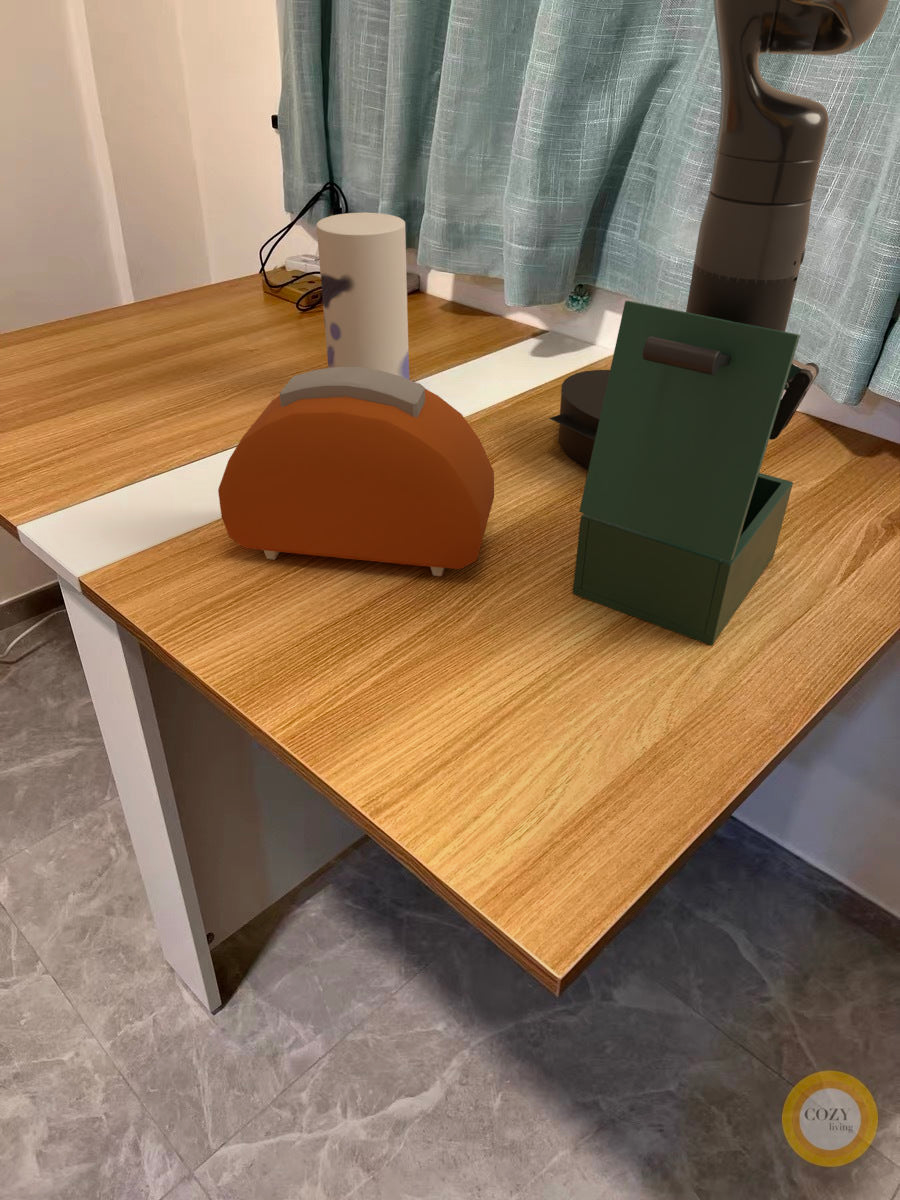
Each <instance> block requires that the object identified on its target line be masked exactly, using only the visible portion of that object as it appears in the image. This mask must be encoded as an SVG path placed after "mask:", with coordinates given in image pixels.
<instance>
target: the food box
mask: <svg viewBox="0 0 900 1200" xmlns="http://www.w3.org/2000/svg"><path fill="white" fill-rule="evenodd" d="M793 484H794V482H793V481H792V480H788V479H783V478H780V477H777V476H773V475H770V474H765V473H761V472H759V475H758V478H757V481H756V485H755V488H754V492H753V495H752V498H751V502H750V505H749V508H748V512H747V515H746V518H745V522H744V525H743V528H742V532H741V535H740V538H739V542H738V545H737V548H736V552H735V555H734V558H733V559H732V560H731V561H729V560H726V559H722V558H719V557H716V556H713V555H710V554H707V553H704V552H701V551H698V550H695V549H692V548H689V547H685V546H682V545H679V544H676V543H673V542H670V541H667V540H664V539H661V538H658V537H655V536H651V535H648V534H645V533H642V532H639V531H636V530H633V529H630V528H627V527H624V526H621V525H618V524H614V523H611V522H608V521H605V520H602V519H599V518H596V517H593V516H590V515H587V514H584V513H582V515H580V520H579V529H578V537H577V538H578V539H577V547H576V548H577V549H576V556H575V566H574V567H575V568H574V575H573V586H572V595H575V596H578V597H580V598H583V599H586V600H588V601H592V602H593V603H596V604H599V605H602V606H604V607H607V608H609V609H612V610H616V611H618V612H621V613H623V614H626V615H628V616H632V617H634V618H636V619H639V620H643V621H644V622H648V623H650V624H653V625H656V626H658V627H660V628H664V629H666V630H669V631H672V632H675V633H678V634H680V635H683V636H685V637H688V638H691V639H693V640H696V641H699V642H701V643H705V644H707V645H709V646H713V645H714V644H715V643H716V641H717V640H718V639H719V636H720V635H721V634H722V632H723V631H724V629H726V626H727V625H728V624H729V623H730V621H731V619H732V618H733V616H734V615H735V613H736V612H737V610H738V609H739V608H740V606H741V605H742V603H743V602H744V600H745V598H746V597H747V596H748V595H749V593H750V592H751V590H752V588H754V586H755V584H756V583H757V581H758V580H759V579H760V578H761V576H762V575H763V573H764V571H765V570H766V568H767V567H768V565H769V564H770V562H771V561H772V560H773V558H774V556H775V554H776V549H777V546H778V542H779V537H780V533H781V530H782V526H783V523H784V519H785V516H786V512H787V507H788V504H789V500H790V496H791V492H792V488H793Z"/></svg>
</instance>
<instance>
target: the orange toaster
mask: <svg viewBox="0 0 900 1200" xmlns="http://www.w3.org/2000/svg"><path fill="white" fill-rule="evenodd" d="M278 394H279V395H278V396H277V397H275V398H273V399H272V400H271V401H270V403H269V404H267V406H266V408H265V409H264V410H263V411H262V412H261V414H260V415H258V417H257V418H256V419H255V421H253V424H252V425H251V426H250V427H249V428H248V430H247V431H246V432H245V433H244V435H243V436H242V437H241V439H240V440H239V442H238V444H237V445H236V447H235V449H234V450H233V452H232V454H231V455H230V457H228V460H227V464H226V466H225V469H224V472H223V475H222V478H221V480H220V482H219V486H218V489H217V494H218V499H219V500H218V501H219V508H220V516H221V520H222V522H223V524H224V528H225V530H226V532H227V535H228V537H229V538H230V539H231V540H232V541H234V542H236V543H237V544H238V545H240V546H241V547H242V548H244V549H245V548H246V549H251V550H252V549H254V550H260V551H263V552H264V555H265V557H266V559H267V560H273V561H275V560H276V559H277V557H278V555H279V554H280V553H288V554H289V553H290V554H298V555H308V556H317V557H318V556H319V557H329V558H339V559H348V560H359V561H369V562H378V563H390V564H398V565H399V564H400V565H409V566H419V567H420V566H421V567H427V568H430V571H431V574H432V576H434V577H442V576H443V574H444V571H445V569H456V570H457V569H458V570H461V569H462V568H464V567H467V566H469V565H470V564H472V563H474V562H476V561H477V560H478V558H479V555H480V551H481V546H482V543H483V540H484V536H485V532H486V529H487V525H488V521H489V518H490V514H491V510H492V506H493V502H494V499H495V470H494V468H493V466H492V463H491V461H490V460H489V457H488V455H487V452H486V450H485V448H484V446H483V444H482V442H481V439H480V437H479V436H478V435H477V433H476V432H475V431H474V429H473V428H472V426H471V425H470V424H469V422H468V421H467V419H466V418H465V417H464V415H463V414H462V413H461V412H459V411H458V410H457V409H456V408H455V407H453V406H452V405H450V404H449V402H447V401H446V400H445V399H443V398H442V397H440V396H439V395H437V394H436V393H434V392H432V391H430V390H429V389H427V388H426V387H425V386H424V385H422V384H420V383H418V382H416V381H414V380H412V379H410V378H409V379H406V378H404V377H401V376H398V375H394V374H391V373H387V372H384V371H380V370H375V369H368V368H361V367H332V368H329V367H326V368H320V369H313V370H310V371H306V372H303V373H300V374H296V375H293V376H292V377H291V378H290V379H289V380H288V381H287V383H286V384H285V385H284V387H283V388H282V389H281V390H280V391H279V393H278Z"/></svg>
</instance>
